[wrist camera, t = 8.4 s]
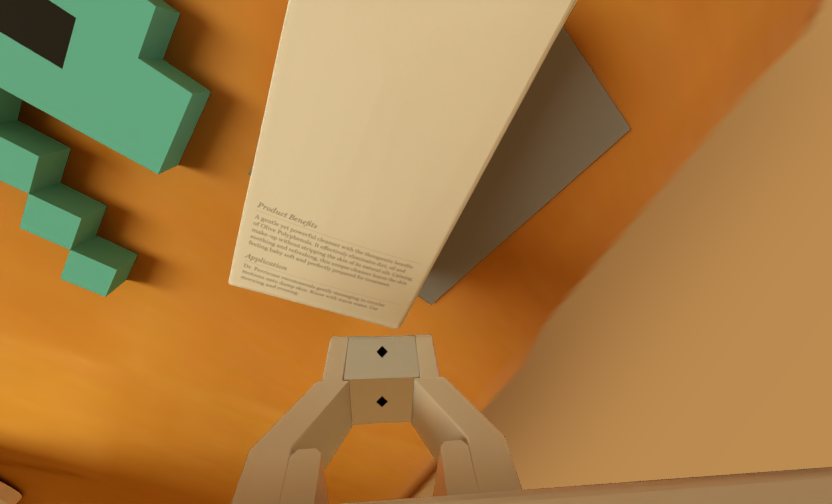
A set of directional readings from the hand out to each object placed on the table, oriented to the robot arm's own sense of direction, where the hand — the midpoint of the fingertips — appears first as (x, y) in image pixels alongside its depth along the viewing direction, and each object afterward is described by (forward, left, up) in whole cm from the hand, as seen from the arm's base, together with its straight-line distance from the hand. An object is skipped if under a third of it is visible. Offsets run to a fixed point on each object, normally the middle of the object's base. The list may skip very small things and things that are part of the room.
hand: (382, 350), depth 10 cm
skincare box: (-4, +1, -8) cm, 8 cm away
